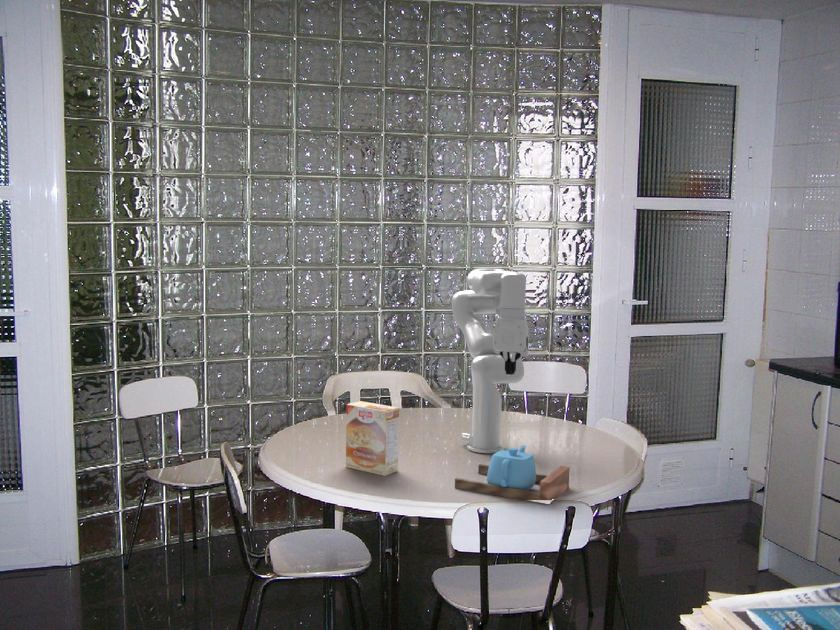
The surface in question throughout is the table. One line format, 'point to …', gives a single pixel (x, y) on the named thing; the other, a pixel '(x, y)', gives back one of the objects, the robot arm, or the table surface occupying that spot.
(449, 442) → the table surface
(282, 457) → the table surface
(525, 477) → the teapot
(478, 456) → the table surface
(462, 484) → the guide track
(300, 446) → the table surface
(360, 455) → the coffeecake box
